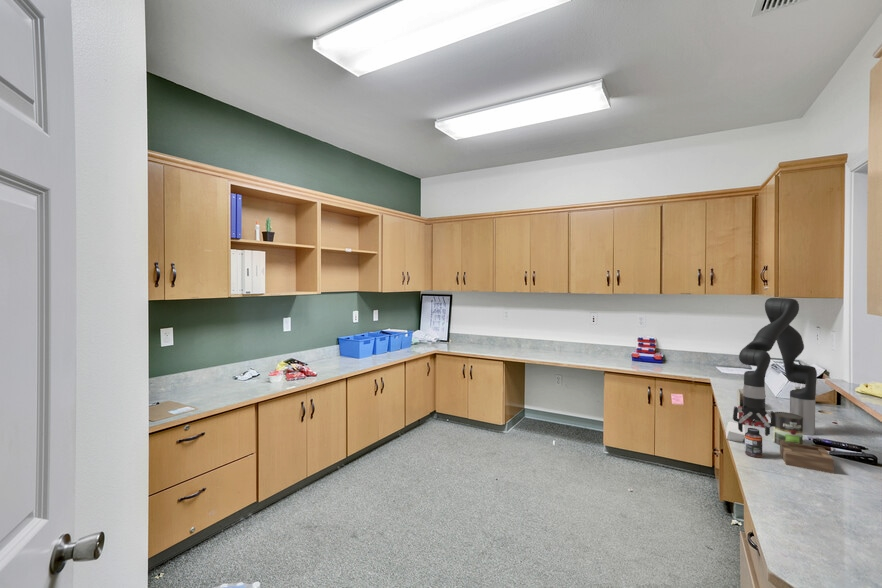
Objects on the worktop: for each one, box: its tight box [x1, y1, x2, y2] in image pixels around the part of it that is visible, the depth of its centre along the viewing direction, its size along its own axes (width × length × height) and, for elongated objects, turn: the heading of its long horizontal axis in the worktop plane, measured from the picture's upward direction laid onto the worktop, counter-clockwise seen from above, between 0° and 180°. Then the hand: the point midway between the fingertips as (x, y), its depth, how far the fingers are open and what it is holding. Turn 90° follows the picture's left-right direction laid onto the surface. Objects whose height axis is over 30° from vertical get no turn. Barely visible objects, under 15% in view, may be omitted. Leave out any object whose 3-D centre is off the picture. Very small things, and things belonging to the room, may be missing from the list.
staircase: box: [736, 388, 743, 407], centre depth 229 cm, size 9×11×17 cm
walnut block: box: [779, 441, 835, 475], centre depth 161 cm, size 14×14×6 cm
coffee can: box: [772, 411, 804, 446], centre depth 179 cm, size 10×10×14 cm
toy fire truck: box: [737, 405, 769, 429], centre depth 203 cm, size 7×12×10 cm, turn 56°
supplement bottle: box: [744, 427, 763, 459], centre depth 169 cm, size 6×6×11 cm
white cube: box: [725, 421, 746, 443], centre depth 184 cm, size 6×6×6 cm
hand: (753, 433), depth 169 cm, fingers open, 8 cm apart
